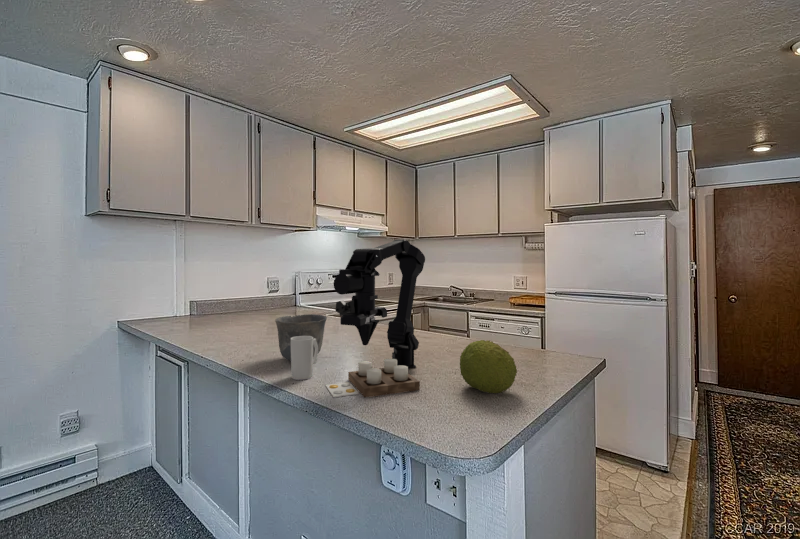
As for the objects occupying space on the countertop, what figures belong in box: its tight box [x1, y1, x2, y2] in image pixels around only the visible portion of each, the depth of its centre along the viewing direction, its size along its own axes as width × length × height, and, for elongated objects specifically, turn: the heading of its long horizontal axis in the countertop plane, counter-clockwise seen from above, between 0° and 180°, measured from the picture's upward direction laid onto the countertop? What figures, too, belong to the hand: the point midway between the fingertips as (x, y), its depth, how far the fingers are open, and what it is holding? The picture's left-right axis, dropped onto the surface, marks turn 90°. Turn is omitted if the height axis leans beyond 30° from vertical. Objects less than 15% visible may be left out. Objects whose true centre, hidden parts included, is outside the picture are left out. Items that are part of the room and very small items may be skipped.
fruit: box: [459, 339, 518, 394], centre depth 109 cm, size 16×14×15 cm
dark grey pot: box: [274, 313, 327, 362], centre depth 140 cm, size 18×18×15 cm
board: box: [347, 367, 421, 399], centre depth 113 cm, size 16×16×2 cm
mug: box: [290, 336, 319, 381], centre depth 122 cm, size 10×7×12 cm, turn 147°
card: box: [325, 381, 360, 399], centre depth 109 cm, size 7×10×1 cm
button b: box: [394, 365, 409, 381], centre depth 111 cm, size 4×4×3 cm
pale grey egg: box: [383, 358, 397, 373], centre depth 118 cm, size 4×4×3 cm
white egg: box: [357, 360, 373, 376], centre depth 115 cm, size 4×4×3 cm
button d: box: [367, 367, 381, 384], centre depth 108 cm, size 4×4×3 cm
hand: (365, 345), depth 115 cm, fingers closed
